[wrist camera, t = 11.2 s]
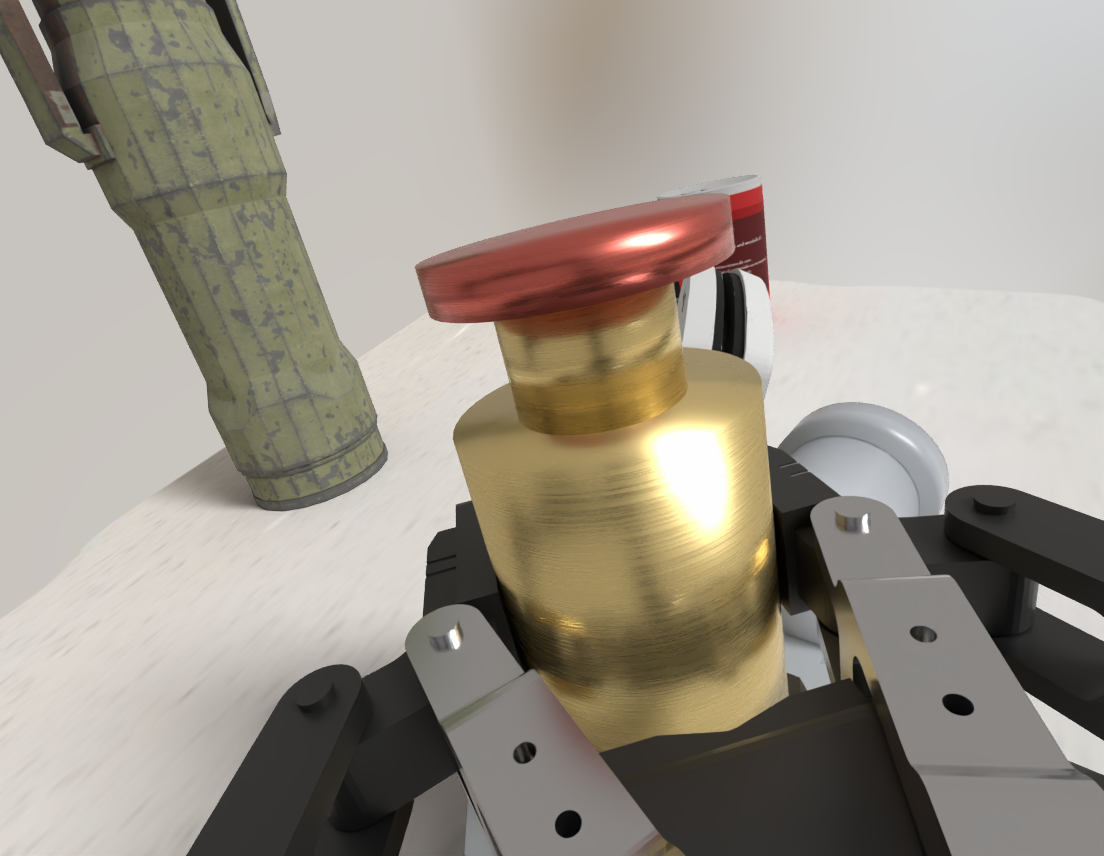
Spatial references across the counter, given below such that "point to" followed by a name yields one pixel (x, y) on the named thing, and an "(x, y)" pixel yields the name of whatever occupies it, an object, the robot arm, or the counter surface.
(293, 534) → the counter surface
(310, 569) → the counter surface
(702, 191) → the canned food
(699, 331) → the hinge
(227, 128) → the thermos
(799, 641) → the grey octagonal holder
